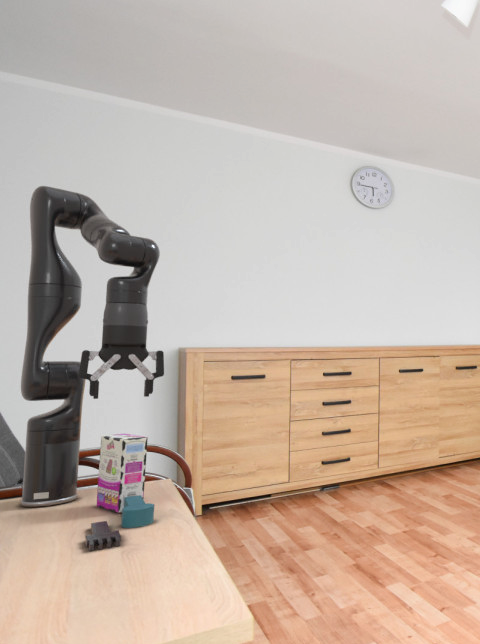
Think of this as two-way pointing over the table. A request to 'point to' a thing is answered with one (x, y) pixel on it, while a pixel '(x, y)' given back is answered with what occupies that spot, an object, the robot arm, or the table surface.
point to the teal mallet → (136, 512)
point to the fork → (102, 536)
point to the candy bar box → (121, 470)
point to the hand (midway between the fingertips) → (121, 397)
